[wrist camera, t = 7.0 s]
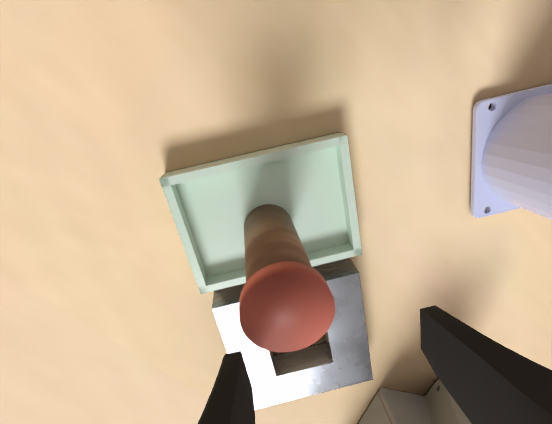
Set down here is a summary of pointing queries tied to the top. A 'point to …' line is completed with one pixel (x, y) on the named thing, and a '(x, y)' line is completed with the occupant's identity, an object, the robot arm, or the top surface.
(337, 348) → the socket plate
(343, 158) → the tray
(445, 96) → the top surface
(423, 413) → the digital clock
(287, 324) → the pin
